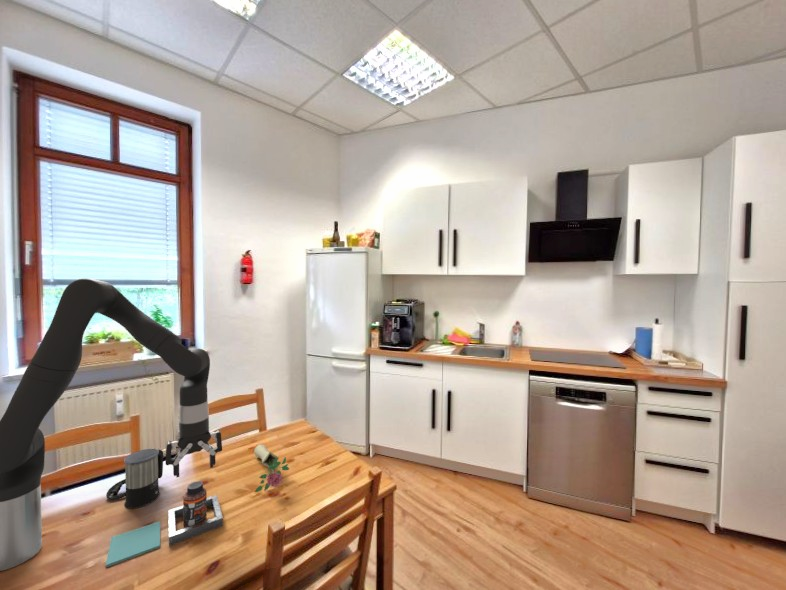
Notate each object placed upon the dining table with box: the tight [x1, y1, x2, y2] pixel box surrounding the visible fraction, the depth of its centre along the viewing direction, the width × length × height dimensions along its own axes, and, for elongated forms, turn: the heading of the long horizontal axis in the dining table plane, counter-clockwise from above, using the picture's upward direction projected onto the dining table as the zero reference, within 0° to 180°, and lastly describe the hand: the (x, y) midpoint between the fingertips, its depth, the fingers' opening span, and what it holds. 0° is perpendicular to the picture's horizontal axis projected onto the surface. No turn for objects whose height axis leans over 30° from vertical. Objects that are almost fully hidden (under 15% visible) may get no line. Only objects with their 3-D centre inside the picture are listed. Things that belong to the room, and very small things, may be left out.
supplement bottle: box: [182, 480, 208, 528], centre depth 96 cm, size 6×6×11 cm
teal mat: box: [105, 520, 161, 568], centre depth 88 cm, size 11×11×1 cm
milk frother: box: [106, 448, 164, 509], centre depth 107 cm, size 14×16×15 cm
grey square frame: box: [167, 494, 224, 547], centre depth 96 cm, size 13×13×2 cm
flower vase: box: [253, 444, 290, 493], centre depth 119 cm, size 12×12×35 cm
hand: (195, 471), depth 96 cm, fingers open, 8 cm apart
